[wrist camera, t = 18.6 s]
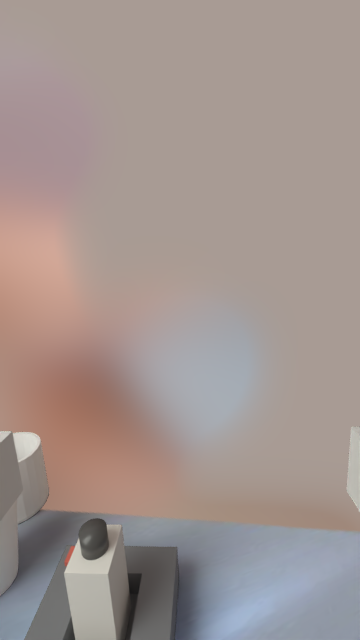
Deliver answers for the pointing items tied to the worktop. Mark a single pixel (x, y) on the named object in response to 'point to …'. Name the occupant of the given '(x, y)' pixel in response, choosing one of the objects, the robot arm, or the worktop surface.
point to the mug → (30, 475)
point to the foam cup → (8, 548)
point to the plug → (98, 583)
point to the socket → (145, 594)
